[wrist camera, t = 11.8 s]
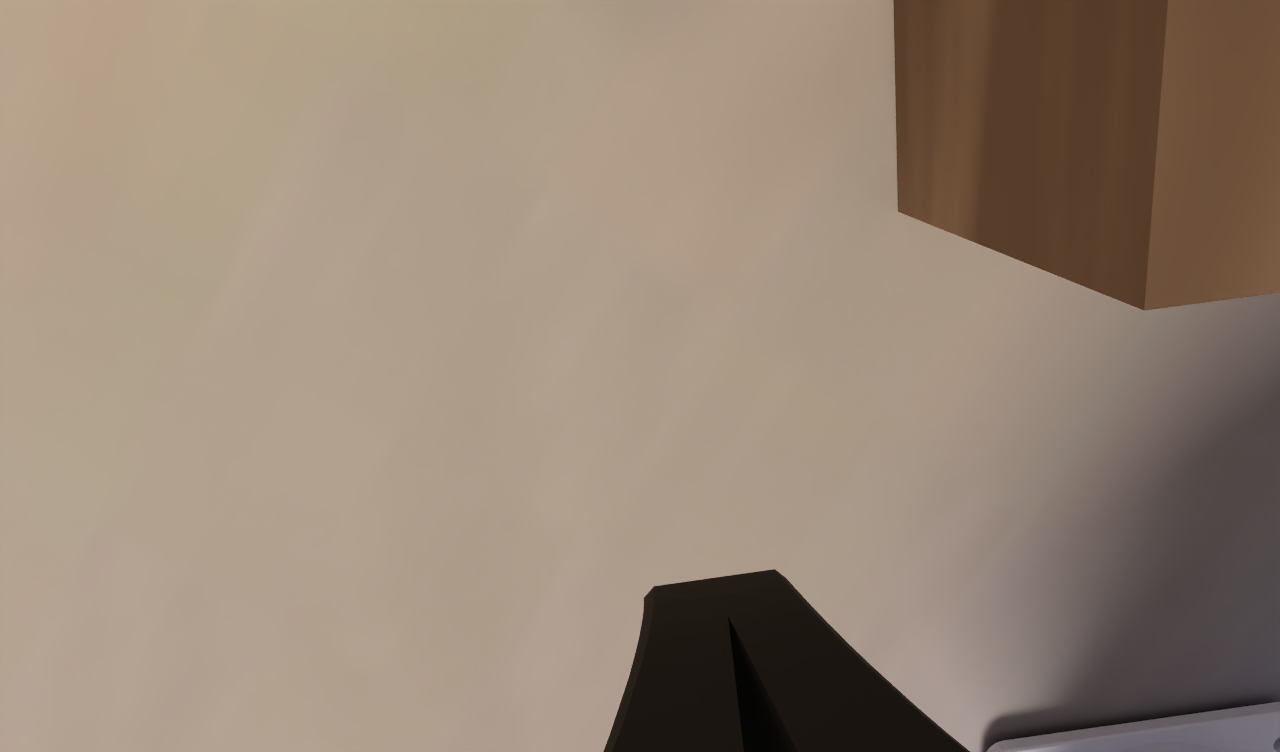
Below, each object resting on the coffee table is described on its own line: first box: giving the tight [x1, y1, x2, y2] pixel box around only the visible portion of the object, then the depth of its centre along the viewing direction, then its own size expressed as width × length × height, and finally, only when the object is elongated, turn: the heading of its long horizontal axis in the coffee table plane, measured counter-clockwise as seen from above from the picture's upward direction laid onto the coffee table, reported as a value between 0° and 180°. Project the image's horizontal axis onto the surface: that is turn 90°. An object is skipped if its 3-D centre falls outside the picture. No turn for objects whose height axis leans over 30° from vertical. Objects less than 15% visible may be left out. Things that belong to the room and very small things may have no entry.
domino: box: [894, 0, 1280, 310], centre depth 12 cm, size 2×5×8 cm, turn 7°
